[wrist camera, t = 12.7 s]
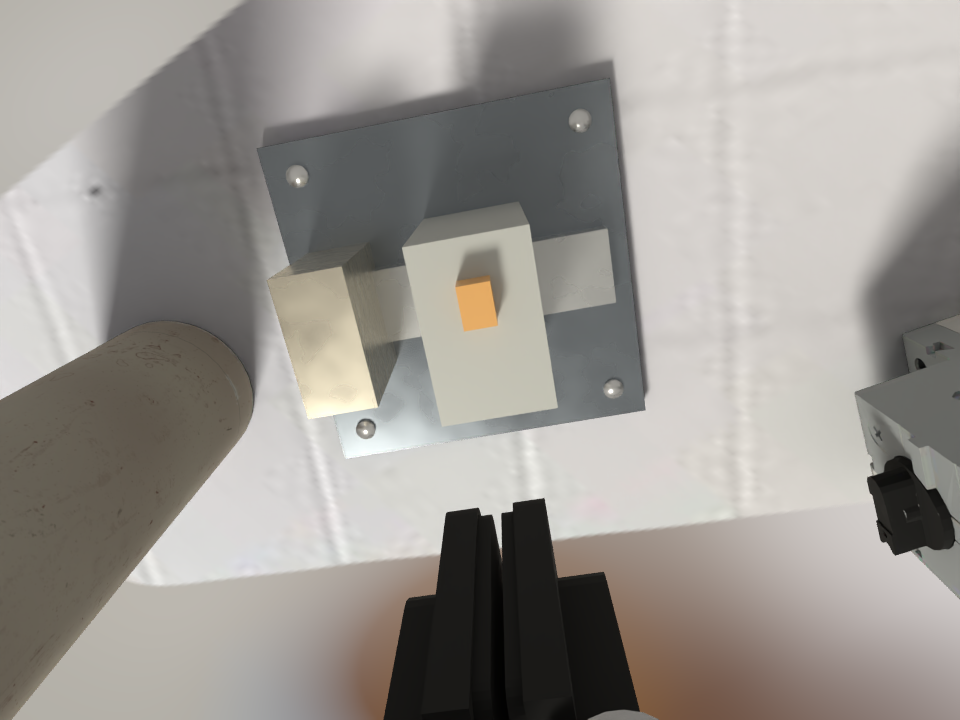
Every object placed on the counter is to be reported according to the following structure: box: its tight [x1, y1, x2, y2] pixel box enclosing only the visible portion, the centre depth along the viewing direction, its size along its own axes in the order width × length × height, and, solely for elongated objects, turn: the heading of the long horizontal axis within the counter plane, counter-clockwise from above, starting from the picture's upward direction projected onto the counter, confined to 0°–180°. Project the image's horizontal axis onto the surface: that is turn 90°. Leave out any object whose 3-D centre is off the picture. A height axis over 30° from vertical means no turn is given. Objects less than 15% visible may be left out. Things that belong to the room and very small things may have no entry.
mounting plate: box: [257, 78, 645, 459], centre depth 28 cm, size 16×16×7 cm
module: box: [402, 201, 558, 427], centre depth 27 cm, size 4×7×9 cm, turn 10°
